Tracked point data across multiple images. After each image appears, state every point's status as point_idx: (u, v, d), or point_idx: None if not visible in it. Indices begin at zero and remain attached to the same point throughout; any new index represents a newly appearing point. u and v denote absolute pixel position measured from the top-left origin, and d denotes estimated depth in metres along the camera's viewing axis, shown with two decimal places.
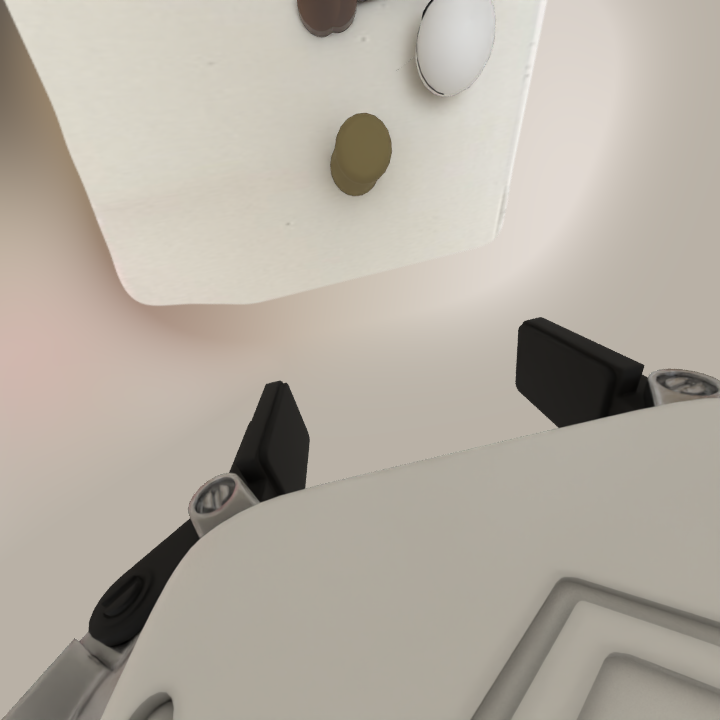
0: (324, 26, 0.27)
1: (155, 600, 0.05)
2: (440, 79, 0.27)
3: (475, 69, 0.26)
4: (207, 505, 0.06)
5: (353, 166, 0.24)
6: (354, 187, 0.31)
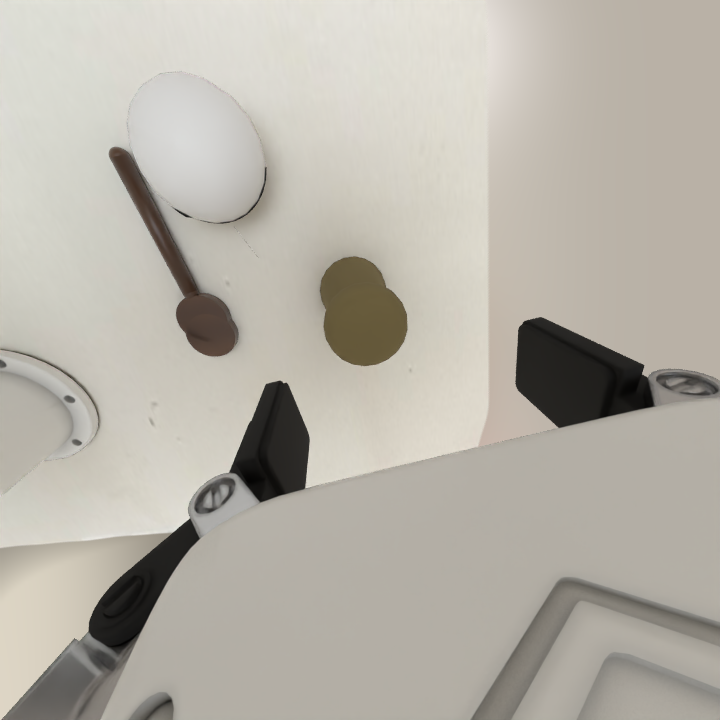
0: (230, 330, 0.25)
1: (155, 600, 0.05)
2: (252, 182, 0.17)
3: (228, 112, 0.15)
4: (207, 505, 0.06)
5: (391, 349, 0.16)
6: None
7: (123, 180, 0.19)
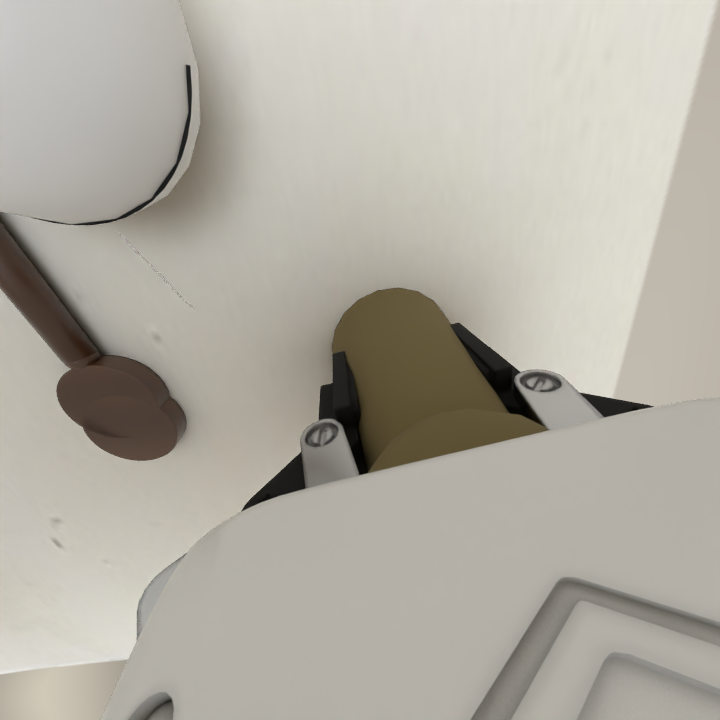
0: (165, 421, 0.13)
1: None
2: (133, 95, 0.05)
3: None
4: (316, 442, 0.07)
5: None
6: None
7: None
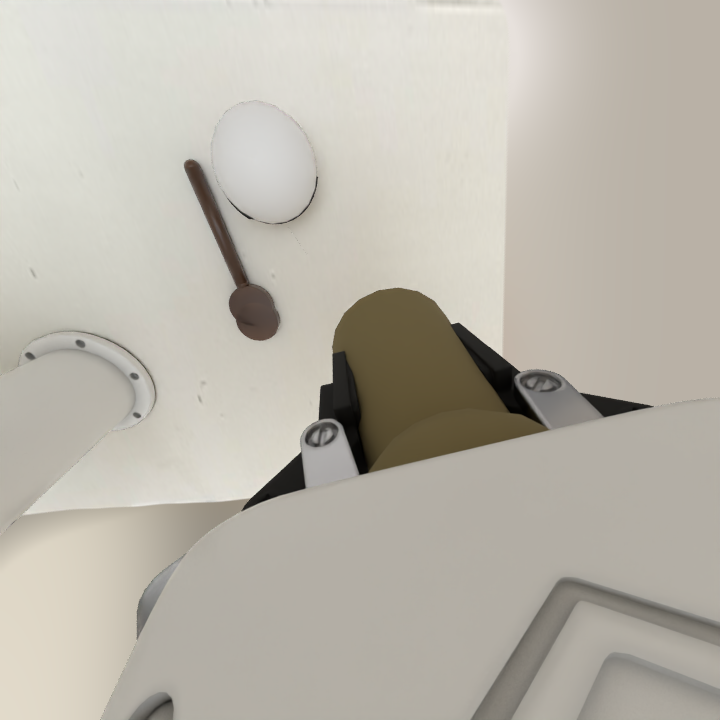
0: (273, 317, 0.28)
1: None
2: (307, 189, 0.20)
3: (294, 133, 0.18)
4: (316, 442, 0.07)
5: None
6: None
7: (194, 187, 0.23)
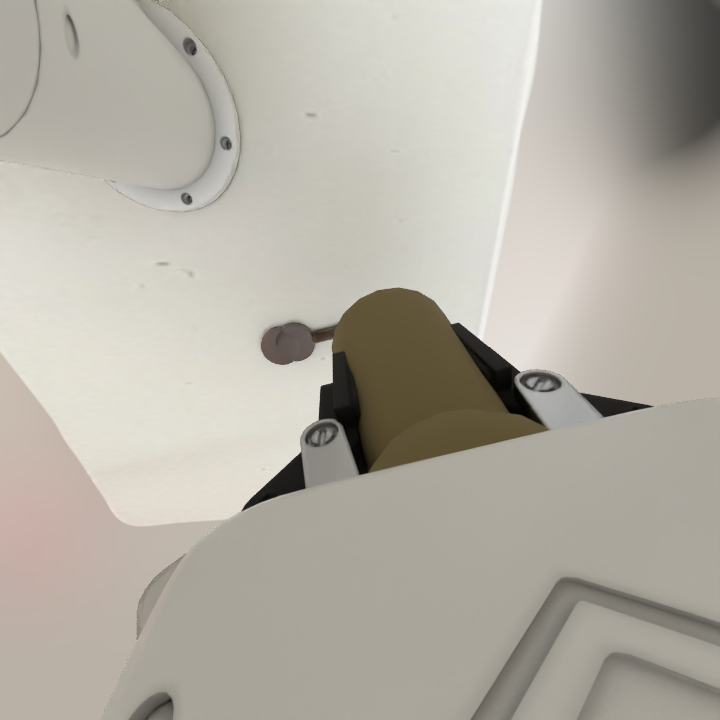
0: (286, 362, 0.31)
1: None
2: None
3: None
4: (316, 442, 0.07)
5: None
6: None
7: None
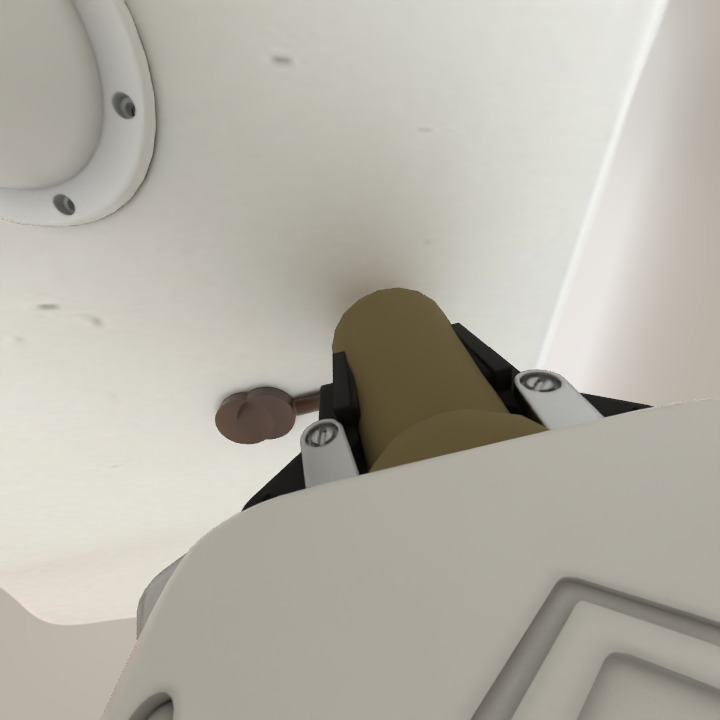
0: (255, 440, 0.21)
1: None
2: None
3: None
4: (316, 442, 0.07)
5: None
6: None
7: None
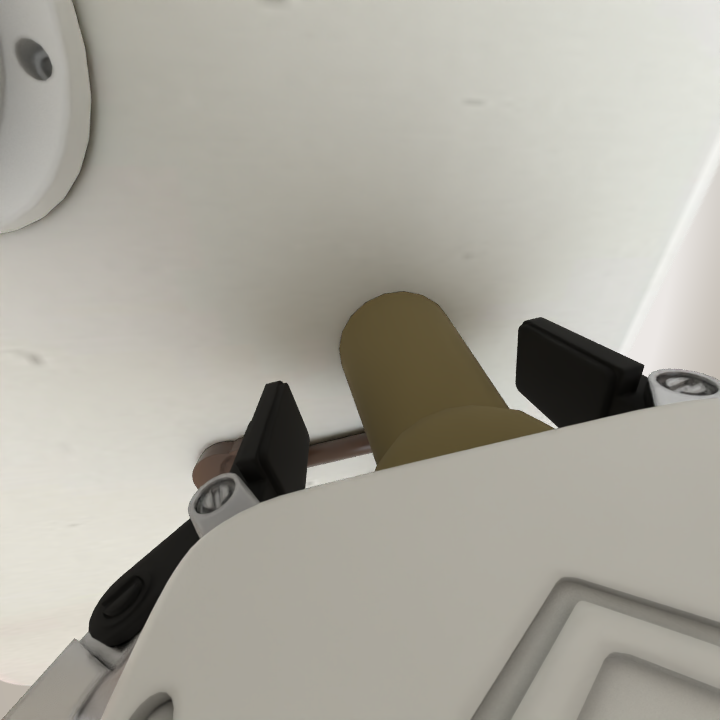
0: None
1: (155, 600, 0.05)
2: None
3: None
4: (207, 505, 0.06)
5: None
6: None
7: None
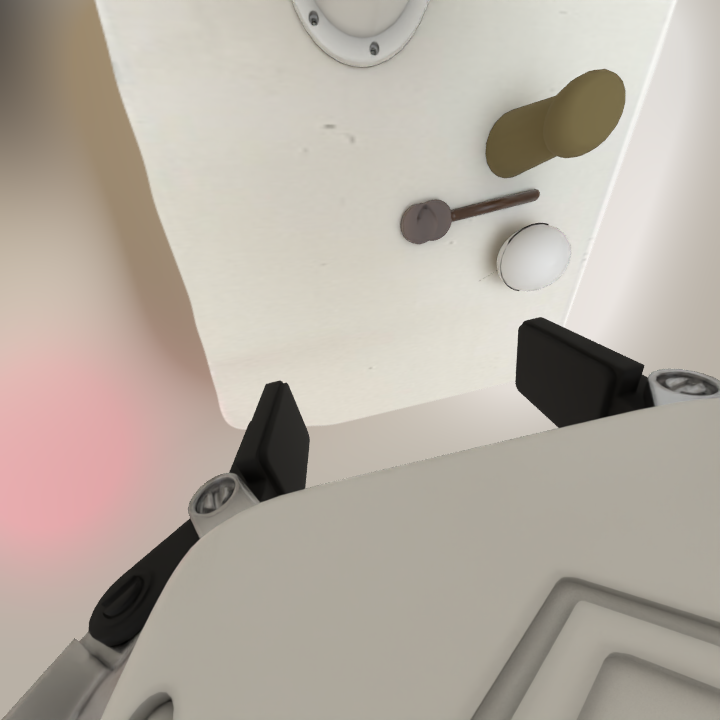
0: (422, 240, 0.32)
1: (155, 600, 0.05)
2: (520, 287, 0.32)
3: None
4: (207, 505, 0.06)
5: (609, 129, 0.21)
6: None
7: (525, 194, 0.31)
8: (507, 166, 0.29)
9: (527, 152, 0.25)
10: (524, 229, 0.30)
